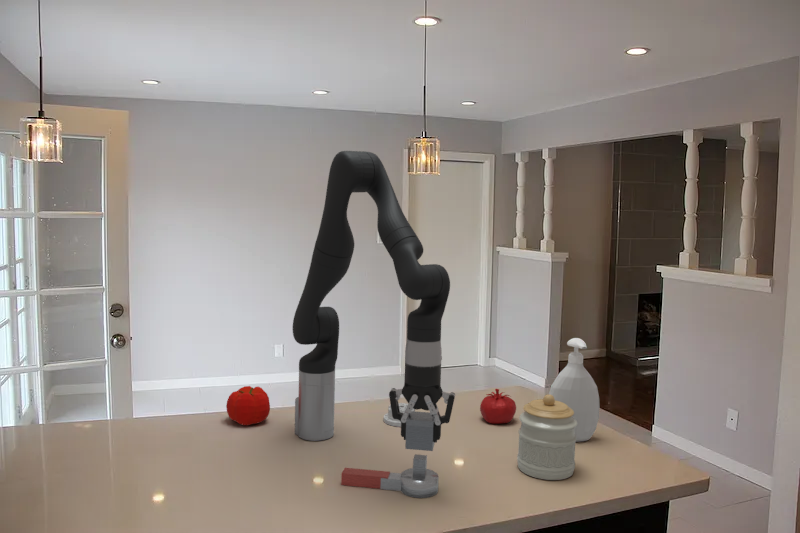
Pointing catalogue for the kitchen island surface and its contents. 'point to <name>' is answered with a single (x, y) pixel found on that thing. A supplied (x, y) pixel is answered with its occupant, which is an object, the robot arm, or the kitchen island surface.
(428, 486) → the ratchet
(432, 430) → the brushed metal cube
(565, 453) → the jar
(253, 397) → the tomato
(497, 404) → the pomegranate
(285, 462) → the kitchen island surface
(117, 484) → the kitchen island surface
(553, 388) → the soap bottle
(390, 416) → the mechanical component
